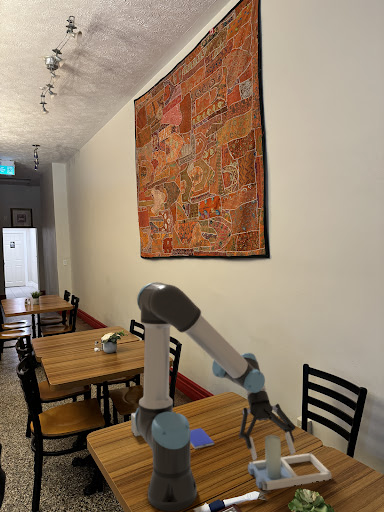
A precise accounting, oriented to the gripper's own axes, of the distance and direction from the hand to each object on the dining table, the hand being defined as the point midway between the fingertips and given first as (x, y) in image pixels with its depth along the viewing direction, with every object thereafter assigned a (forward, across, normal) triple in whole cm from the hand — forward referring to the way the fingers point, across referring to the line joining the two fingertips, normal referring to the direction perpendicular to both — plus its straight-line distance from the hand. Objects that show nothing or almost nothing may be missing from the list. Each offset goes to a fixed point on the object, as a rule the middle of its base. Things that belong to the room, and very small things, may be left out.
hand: (274, 456), depth 120 cm
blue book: (-15, +19, -26) cm, 36 cm away
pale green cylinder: (+4, 0, -4) cm, 6 cm away
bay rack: (+5, -5, -5) cm, 8 cm away
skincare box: (-24, +42, -34) cm, 59 cm away
